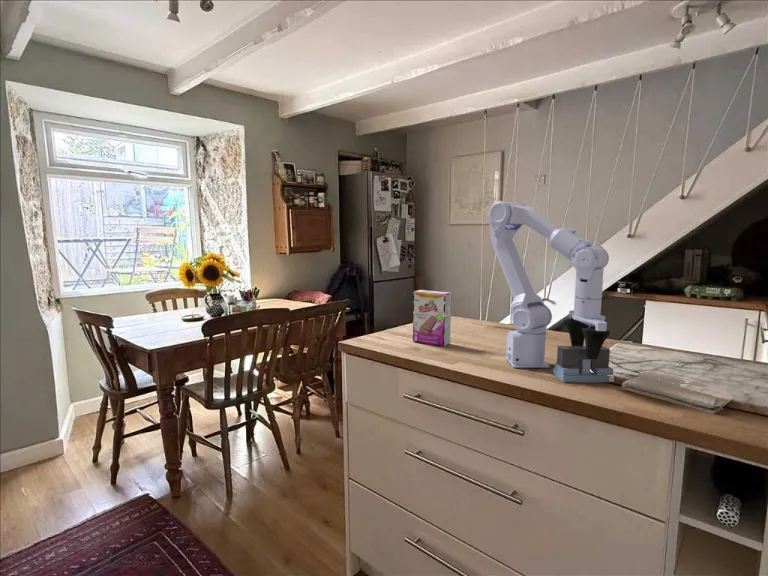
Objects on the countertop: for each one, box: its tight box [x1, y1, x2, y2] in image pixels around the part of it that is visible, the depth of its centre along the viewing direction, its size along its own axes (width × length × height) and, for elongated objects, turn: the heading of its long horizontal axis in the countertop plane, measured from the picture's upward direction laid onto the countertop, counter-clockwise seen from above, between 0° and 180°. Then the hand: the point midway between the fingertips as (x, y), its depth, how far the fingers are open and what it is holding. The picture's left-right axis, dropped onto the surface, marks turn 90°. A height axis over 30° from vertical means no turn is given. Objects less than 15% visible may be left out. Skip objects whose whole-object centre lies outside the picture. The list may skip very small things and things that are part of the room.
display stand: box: [552, 360, 614, 383], centre depth 101 cm, size 12×6×5 cm, turn 90°
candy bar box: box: [412, 289, 452, 347], centre depth 132 cm, size 11×5×16 cm, turn 58°
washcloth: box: [621, 370, 725, 415], centre depth 91 cm, size 12×18×3 cm, turn 39°
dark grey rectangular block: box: [556, 345, 611, 368], centre depth 100 cm, size 11×3×4 cm, turn 90°
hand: (584, 353), depth 100 cm, fingers open, 7 cm apart
